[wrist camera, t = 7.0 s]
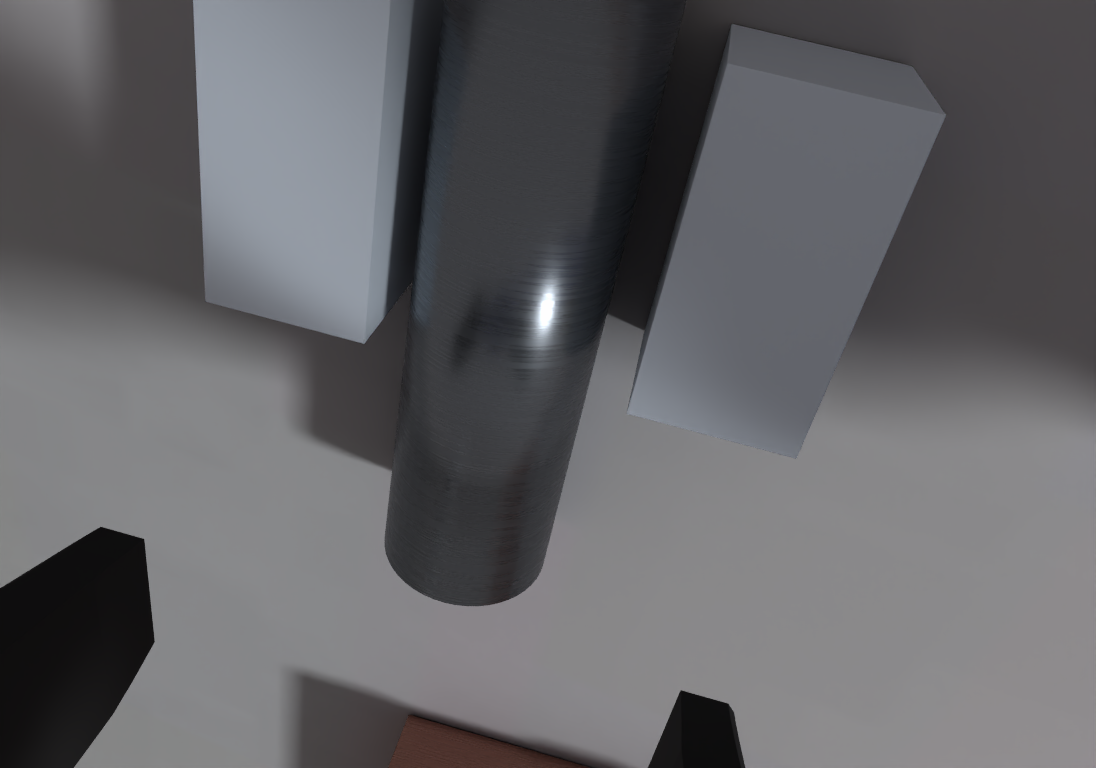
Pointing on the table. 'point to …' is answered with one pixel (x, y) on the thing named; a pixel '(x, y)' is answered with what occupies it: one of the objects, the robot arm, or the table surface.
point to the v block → (462, 750)
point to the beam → (698, 236)
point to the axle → (515, 275)
